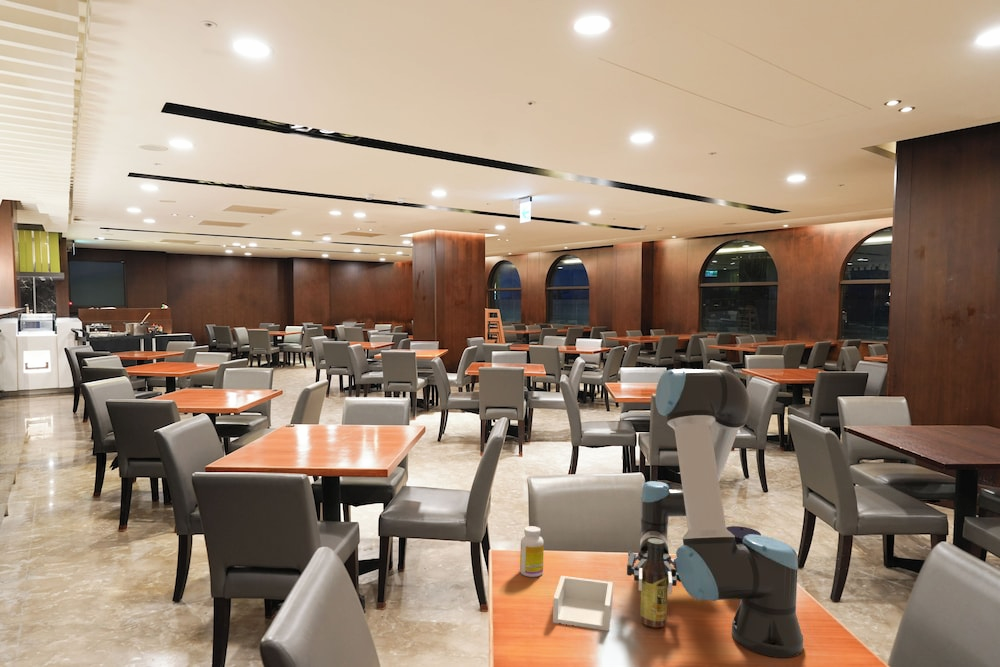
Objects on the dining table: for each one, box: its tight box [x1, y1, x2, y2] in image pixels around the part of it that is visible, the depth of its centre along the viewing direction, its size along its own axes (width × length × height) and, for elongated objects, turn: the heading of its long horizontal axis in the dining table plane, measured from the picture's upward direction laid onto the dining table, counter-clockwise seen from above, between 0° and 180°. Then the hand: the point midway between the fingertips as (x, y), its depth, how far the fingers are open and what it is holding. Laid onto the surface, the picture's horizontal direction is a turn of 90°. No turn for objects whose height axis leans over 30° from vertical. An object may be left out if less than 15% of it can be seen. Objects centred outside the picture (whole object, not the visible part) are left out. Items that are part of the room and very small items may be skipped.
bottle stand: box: [552, 575, 614, 632], centre depth 149 cm, size 13×13×6 cm
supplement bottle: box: [519, 525, 545, 578], centre depth 172 cm, size 7×7×13 cm
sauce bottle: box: [639, 538, 669, 628], centre depth 145 cm, size 6×6×20 cm
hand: (655, 586), depth 140 cm, fingers closed on sauce bottle, 6 cm apart
